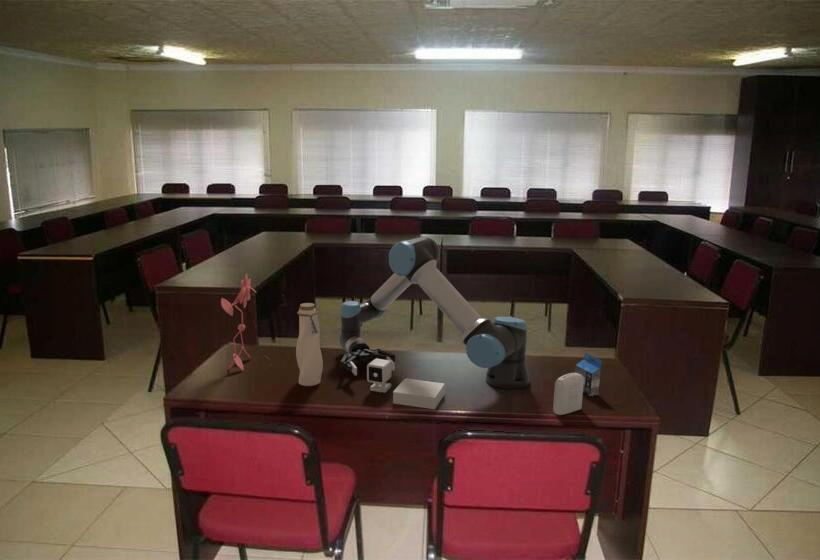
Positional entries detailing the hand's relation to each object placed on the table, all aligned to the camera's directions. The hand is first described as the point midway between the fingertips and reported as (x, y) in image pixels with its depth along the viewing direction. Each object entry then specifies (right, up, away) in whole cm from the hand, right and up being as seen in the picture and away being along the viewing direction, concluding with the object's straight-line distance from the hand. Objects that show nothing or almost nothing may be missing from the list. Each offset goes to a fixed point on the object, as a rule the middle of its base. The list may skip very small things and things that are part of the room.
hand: (374, 369), depth 212 cm
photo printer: (+62, -11, -17) cm, 65 cm away
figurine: (-48, -1, +18) cm, 51 cm away
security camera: (+2, -7, -2) cm, 7 cm away
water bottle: (-23, -5, +3) cm, 23 cm away
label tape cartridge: (+72, -7, -2) cm, 73 cm away
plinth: (+15, -8, -10) cm, 20 cm away
